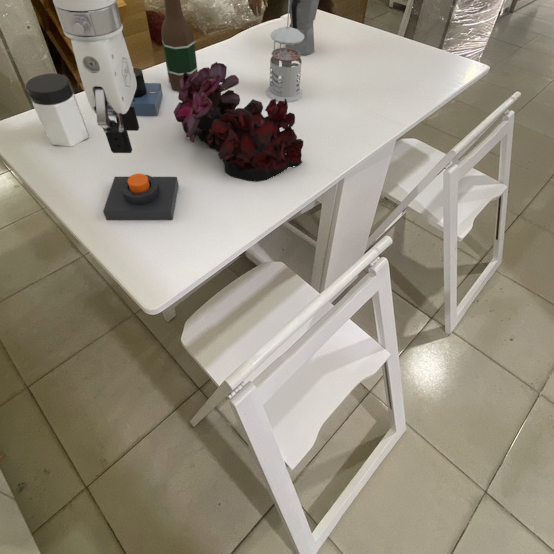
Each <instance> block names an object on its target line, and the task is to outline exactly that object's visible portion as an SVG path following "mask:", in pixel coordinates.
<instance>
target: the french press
mask: <svg viewBox="0 0 554 554" xmlns="http://www.w3.org/2000/svg"><path fill="white" fill-rule="evenodd" d="M289 4H290V0H288V4H287V22H286V23H287V25H286V26H281V27H278V28H275V30H273V31H271V32H270V34H269V37H270V39H271V40H272V41H273V50H272V52H271V57H270V60H269V86H268V87H267V89H266V90H265V95H266V96H267V97H268V98H269V99H270V100H274V99H276V102H279V101H284V99H286V100H287V103H293V102H296V101H299V100H300V99H301V98H302V97H303V96H304V93H303V90H302V89H301V87H300V86H301V75H302V62H303V61H302V59H301V54H300V52H299V51H297V50H295V49H291V48H287V45H293V44H298V43H300V42H302V41H303V39H304V34H302V33H301V32H300V31H299V30H297V29H295V28H291V27H289V21H290V19H289V18H290V7H289ZM276 43H278V44H279V47H277V48H276ZM282 45H285V47H282ZM295 61H296V62H298V63H296V62H295ZM280 62H281V66H280ZM279 77H280V78H279Z"/></svg>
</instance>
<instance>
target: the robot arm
mask: <svg viewBox="0 0 554 554" xmlns="http://www.w3.org/2000/svg"><path fill="white" fill-rule="evenodd" d="M52 3H53V5H54V8H55V11H56V14H57V18H58V20H59V23H60V25H61V28H62V30H63V35H64V36H65V37H67V38H69V39H70V42H71V47H72V51H73V53H74V54H73V55H74V59H75V62H76V67H77V70H78V73H79V77H80V80H81V84H82V87H83V90H84V93H85V96H86V98H87V102H88V104H89V107H90V108H91V111H93V113H94V114H96V123H97V125H98V126H99V127H100V128H102V131H103V132H104V133H105V136H106V139H107V143H108V145H109V148H110V150H111V153H113V154H131V153H132V151H133V147H132V143H131V139H130V136H129V133H128V132H133V131H134V132H135V131H136V132H138V131H139V129H140V125H139V121H138V116H136V113H135V109H134V107H130V106H133V97H134V94H135V91H136V87H137V82H136V77H135V74H134V70H133V63H132V60H131V57H130V53H129V52H130V51H129V49H128V47H127V44H126V43H127V42H126V38H125V37H124V34H123V30H124V25H123V21H122V17H121V13H120V12H121V11H120V9H119V4H118V0H52ZM108 106H111V107H112V108H113V109H108ZM109 116H115V120H116V121H115V120H113V119H111V118H110V117H109Z"/></svg>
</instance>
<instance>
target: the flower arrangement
mask: <svg viewBox="0 0 554 554" xmlns="http://www.w3.org/2000/svg"><path fill="white" fill-rule="evenodd" d="M227 69H228V67H227V65H225V64H224V63H220V62H218V61H215V62H214V63H212V64H211V65H210V67H209V66H207V67H206V66H205V67H202V68H201V69H199V70H197V71H198V72H197V73H196V74H195V76H194V75H189V74H188V73H186V72H184V73H183V77H182V78H181V80H180V85H181V90H180V92H179V91H178V96H177V97H178V100H179V101H180V102H178V103H177V105H176V107H175V108H174V110H173V114H174V117H175V120H176V121H177V122H178V123H181V125H182V128H183V131H184V132H185V133H186V137H187V138H189V141H191V142H192V143H195V141H196V138H198V140H199V141H200V142H202V143H203V144H206V146H207V147H208V148H209V149H211V150H215V151H216V152H218V153H217V155H218V158H219V159H220V160H222V162H223V163H222V164H223V167H224V173H225V174H227V175H228V176H230V177H231V178H235V179H238V180H243V181H247V182H261V181H268V180H270V179H272V178H274V177H276V175H277V174H279V173H280V174H282V173H283V172H285V171H286V170H288V169H289V168H288V167H292V168H294V167H293V166H298V165H299V166H300V165H302V164H303V160H302V156H303V155H302V150H303V147H304V140H302V138H298V135H297V134H296V132H295V129H292V127H294V124H296V116H295V113H293V112H288V109H289V108H288V107H289V105H288V102H287V100H286V99H284V101H276V99H274V100H272V99H270V100H269V103H268V104H267V105H266V107H265V109H264V106H263V103H262V102H261V101H260V100H256V99H254V98H252V99H251V100H250V101H249V102H248V103H247V104H246V106H245V107H243V108H242V107H238V106H239V105H240V103H241V97H240V94H238V93H236V92H235V90H233V89H232V88H234V87H236V86H238V85H239V84H240V80H239V77H238V76H237V75H236V74H230V75H229V76H227V71H228V70H227ZM222 92H223V93H222ZM263 110H264V111H265V112H266V113H267V116H265V117H264V115H263V114H262V113H263ZM281 129H282V130H281ZM301 163H302V164H301ZM299 166H298V167H299ZM287 168H288V169H287ZM284 170H285V171H284ZM281 172H282V173H281ZM280 174H279V175H280ZM273 176H274V177H273ZM277 176H278V175H277ZM271 177H272V178H271ZM269 178H270V179H269ZM267 179H268V180H267Z"/></svg>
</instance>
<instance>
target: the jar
mask: <svg viewBox="0 0 554 554" xmlns="http://www.w3.org/2000/svg"><path fill="white" fill-rule="evenodd" d="M25 89H26V92H27V94H28V96H29V98H30V100H31V101H32V106H33V109H34V110H35V112H36V115H37V117H38V119H39V122H40V123H41V125H42V128H43V130H44V132H45V134H46V136H47V138H48V140H49V142H50V145H52V146H61V147H74V146H76V145H78V144H80V143H81V142H84V141H86V140H87V139H89V138H90V136H89V132H88V128H87V125H86V123H85V119H84V117H83V114H82V112H81V108H80V105H79V104H78V101H77V98H76V95H75V93H74V90H73V87H72V84H71V81H70V79H69V78H68V77H67V76H66V75H64V74H61V73H43V74H39V75H37V76H34V77H32V78H30V79H28V80H27V82H26V83H25Z"/></svg>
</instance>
